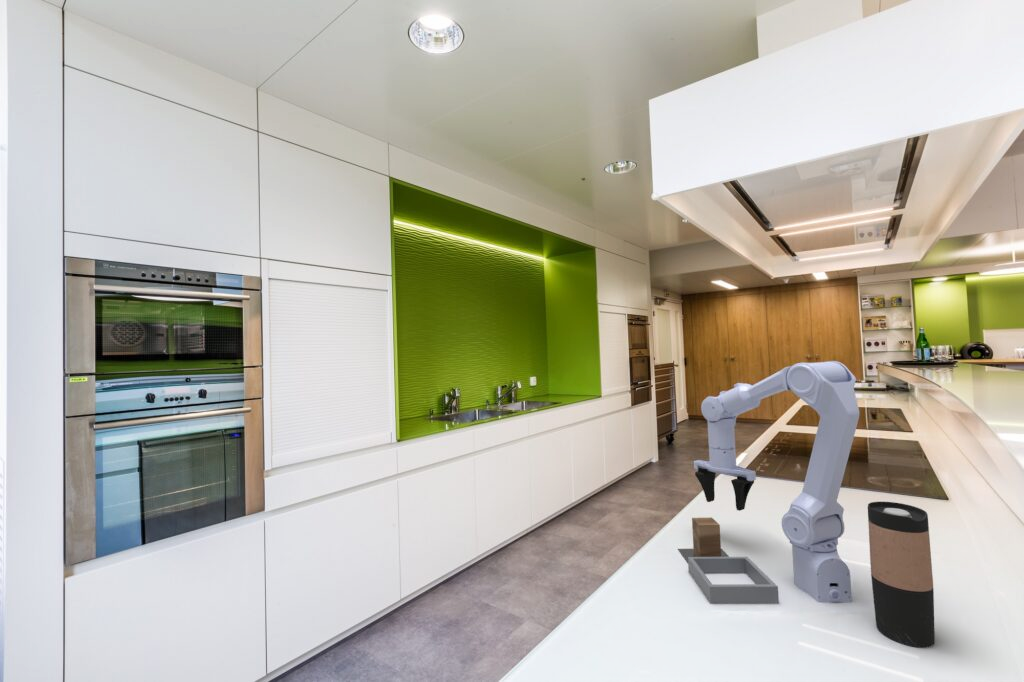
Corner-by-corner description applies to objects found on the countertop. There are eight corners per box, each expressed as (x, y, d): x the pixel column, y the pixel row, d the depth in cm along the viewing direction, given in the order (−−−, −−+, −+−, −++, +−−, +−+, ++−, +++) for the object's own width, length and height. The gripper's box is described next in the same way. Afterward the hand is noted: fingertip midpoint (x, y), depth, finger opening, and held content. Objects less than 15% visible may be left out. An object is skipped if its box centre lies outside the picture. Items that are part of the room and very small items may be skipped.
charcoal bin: (779, 609, 80) (777, 586, 80) (710, 609, 81) (709, 586, 81) (748, 576, 92) (747, 556, 92) (688, 576, 93) (687, 556, 93)
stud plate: (741, 573, 93) (739, 550, 93) (692, 574, 94) (690, 550, 94) (721, 552, 103) (720, 531, 103) (677, 553, 104) (676, 532, 104)
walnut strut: (721, 562, 96) (719, 524, 96) (700, 563, 96) (698, 525, 97) (713, 553, 101) (711, 517, 101) (693, 554, 101) (692, 517, 101)
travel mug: (874, 614, 78) (867, 498, 78) (934, 630, 73) (926, 506, 73) (874, 637, 72) (866, 511, 72) (939, 655, 67) (930, 520, 68)
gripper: (761, 449, 102) (765, 509, 101) (704, 440, 114) (707, 494, 114) (744, 453, 98) (747, 516, 98) (687, 444, 110) (690, 500, 110)
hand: (725, 505), depth 105 cm, fingers open, 7 cm apart
